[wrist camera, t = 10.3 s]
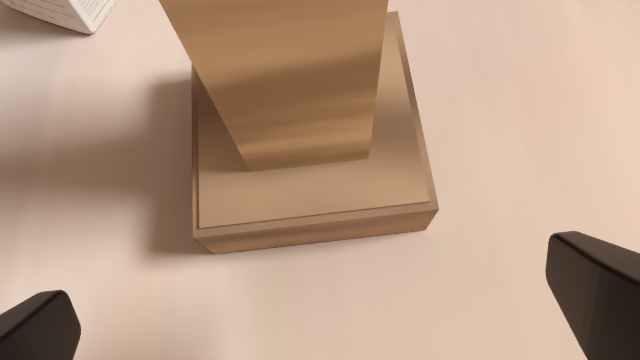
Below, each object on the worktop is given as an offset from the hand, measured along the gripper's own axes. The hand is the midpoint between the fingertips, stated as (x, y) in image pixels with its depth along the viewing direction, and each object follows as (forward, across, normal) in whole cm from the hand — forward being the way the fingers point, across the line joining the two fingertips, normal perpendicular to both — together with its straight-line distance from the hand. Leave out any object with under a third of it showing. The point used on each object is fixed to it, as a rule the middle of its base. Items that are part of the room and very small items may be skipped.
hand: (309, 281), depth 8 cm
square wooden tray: (+13, 0, +2) cm, 13 cm away
